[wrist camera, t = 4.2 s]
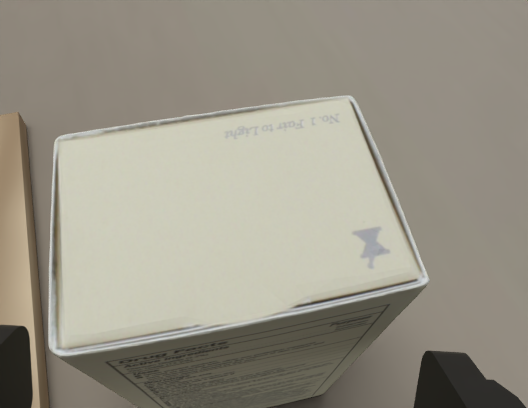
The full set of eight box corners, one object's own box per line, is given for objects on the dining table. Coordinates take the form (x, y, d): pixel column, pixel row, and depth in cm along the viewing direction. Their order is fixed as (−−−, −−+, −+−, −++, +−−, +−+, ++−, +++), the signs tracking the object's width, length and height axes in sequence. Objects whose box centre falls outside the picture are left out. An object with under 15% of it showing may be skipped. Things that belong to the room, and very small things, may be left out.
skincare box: (299, 291, 20) (365, 84, 10) (327, 400, 18) (448, 284, 8) (149, 318, 20) (48, 123, 9) (159, 436, 17) (42, 361, 7)
